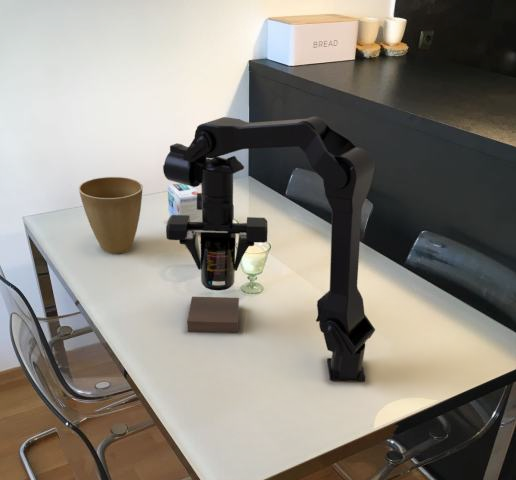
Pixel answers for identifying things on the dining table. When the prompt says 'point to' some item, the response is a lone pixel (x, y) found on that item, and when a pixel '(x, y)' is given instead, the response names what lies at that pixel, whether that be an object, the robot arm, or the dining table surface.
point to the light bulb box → (184, 201)
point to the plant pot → (112, 211)
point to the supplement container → (217, 260)
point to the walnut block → (213, 314)
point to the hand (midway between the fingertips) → (217, 269)
